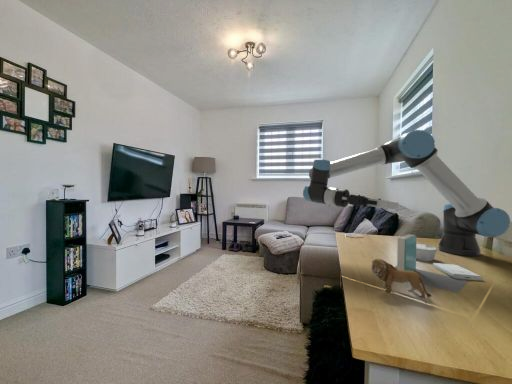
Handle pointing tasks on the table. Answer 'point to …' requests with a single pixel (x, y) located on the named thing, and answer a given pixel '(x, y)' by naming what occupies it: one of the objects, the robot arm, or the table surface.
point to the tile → (406, 253)
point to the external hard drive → (457, 271)
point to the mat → (441, 281)
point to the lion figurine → (397, 276)
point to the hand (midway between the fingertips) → (393, 205)
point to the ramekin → (425, 252)
